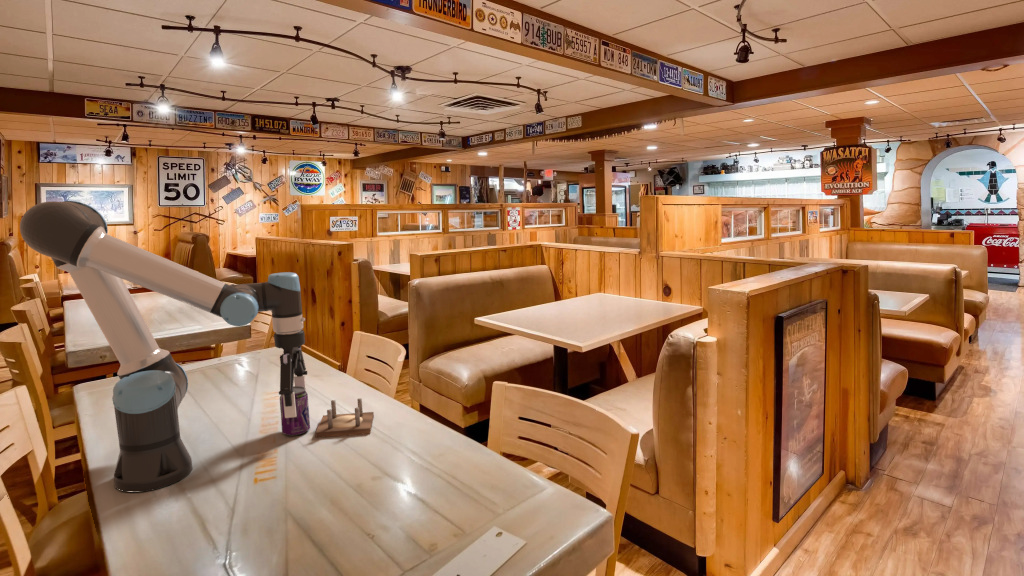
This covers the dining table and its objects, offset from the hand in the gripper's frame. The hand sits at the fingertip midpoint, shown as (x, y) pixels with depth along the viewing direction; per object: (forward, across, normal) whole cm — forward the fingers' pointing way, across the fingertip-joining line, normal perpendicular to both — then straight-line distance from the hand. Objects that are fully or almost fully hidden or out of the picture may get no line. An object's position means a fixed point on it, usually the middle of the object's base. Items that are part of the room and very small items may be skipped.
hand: (296, 407), depth 151 cm
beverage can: (+7, 0, +1) cm, 7 cm away
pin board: (+7, +1, -12) cm, 14 cm away
